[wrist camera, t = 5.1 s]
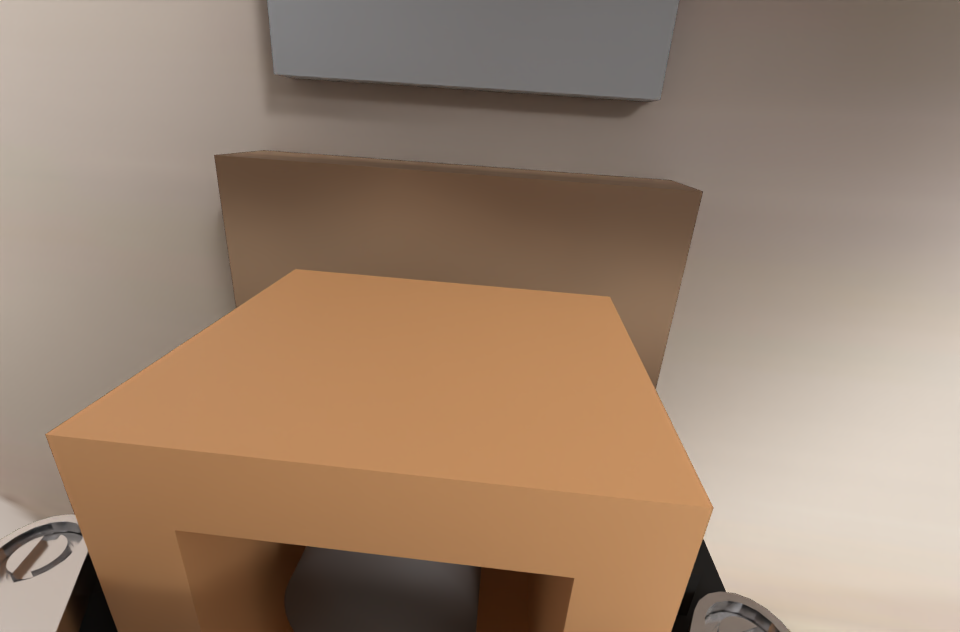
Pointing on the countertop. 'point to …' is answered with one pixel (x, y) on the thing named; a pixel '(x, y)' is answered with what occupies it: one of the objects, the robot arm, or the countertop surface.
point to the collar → (390, 458)
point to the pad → (480, 44)
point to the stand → (455, 259)
